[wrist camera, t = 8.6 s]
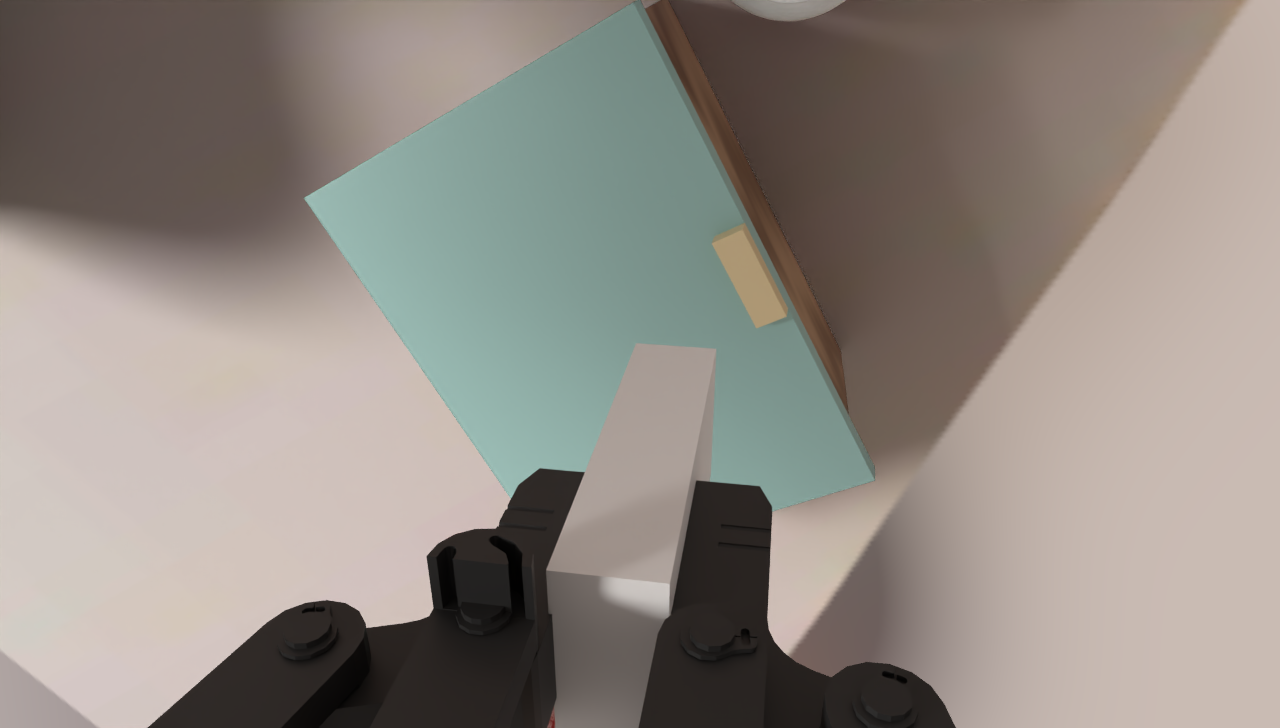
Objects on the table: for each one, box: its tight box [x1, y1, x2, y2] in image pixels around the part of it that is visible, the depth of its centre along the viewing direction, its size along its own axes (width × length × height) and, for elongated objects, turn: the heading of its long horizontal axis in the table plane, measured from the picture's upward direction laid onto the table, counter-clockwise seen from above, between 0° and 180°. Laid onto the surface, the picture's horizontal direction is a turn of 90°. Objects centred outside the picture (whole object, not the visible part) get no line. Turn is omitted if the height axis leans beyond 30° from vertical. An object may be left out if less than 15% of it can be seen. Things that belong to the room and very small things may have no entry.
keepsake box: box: [645, 0, 849, 415], centre depth 33 cm, size 16×12×8 cm
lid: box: [304, 0, 875, 511], centre depth 29 cm, size 17×13×1 cm
